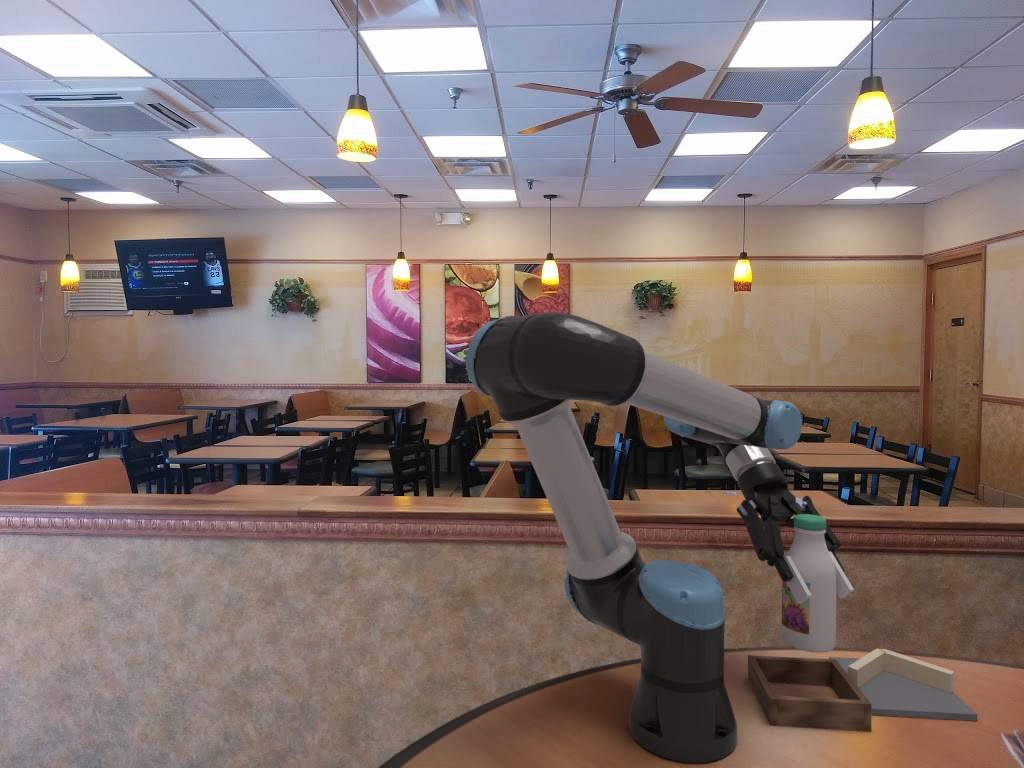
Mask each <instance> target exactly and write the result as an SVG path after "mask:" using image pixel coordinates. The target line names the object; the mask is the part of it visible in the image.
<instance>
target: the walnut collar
mask: <svg viewBox="0 0 1024 768" xmlns="http://www.w3.org/2000/svg"><path fill="white" fill-rule="evenodd" d="M747 681H748V683H749V684H750V686H751V688H752V691H753V693H754V695H755V697H756V699H757V702H758V703H759V706H760V708H761V709H762V712H763V714H764V716H765V718H766V720H767V722H768V724H769V726H776V727H787V728H788V727H792V728H793V727H794V728H808V729H823V730H824V729H826V730H839V731H840V730H842V731H858V732H859V731H861V732H872V715H871V705H872V704H871V703H870V702H869V700H868V699H867V698H866V697H865V695H864V694H863V693H862V692H861V690H860V689H859V688H858V687H857V685H856V684H855V683H854V682H853V680H852V679H851V678H850V677H849V675H848V674H847V673H846V672H845V670H844V669H843V668H842V667H841V665H840V664H839V663H838V662H837V660H836V659H829V658H814V657H813V658H812V657H796V656H795V657H794V656H793V657H790V656H769V655H766V656H765V655H747ZM771 683H772V684H787V685H790V684H791V685H805V686H806V685H807V686H808V685H812V686H826V687H827V686H828V687H832V689H833V690H834V692H835V693H836V694H837V696H838V697H839V698H828V697H827V698H825V697H810V696H809V697H808V696H794V695H793V696H787V695H775V693H774V691H773V689H772V687H771V685H770V684H771Z"/></svg>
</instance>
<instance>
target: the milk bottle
mask: <svg viewBox="0 0 1024 768" xmlns="http://www.w3.org/2000/svg"><path fill="white" fill-rule="evenodd" d="M793 517H794V529H793V530H794V532H795V533H794V538H793V541H792V543H791V546H790V548H789V549H788V551H787V553H786V555H785V557H786V556H791V558H792V560H793V562H794V564H795V566H796V567H797V569H798V571H799V573H800V575H801V577H802V578H803V580H804V582H805V584H806V586H807V588H808V589H809V591H810V593H811V596H810V597H809V598H808V599H807V600H805V601H804V602H803V603H801V604H798V603H797V601H796V599H795V597H794V595H793V594H792V592H791V590H790V588H789V586H788V584H787V582H784V581H783V580H782V579H781V581H782V582H781V583H782V584H781V586H782V587H781V638H782V640H783V642H784V643H785V644H787V645H788V646H790V647H792V648H793V649H797V650H799V651H804V652H809V653H819V654H820V653H821V654H822V653H828V652H830V651H831V652H832V650H834V649H835V647H836V640H837V637H836V636H837V635H836V634H837V633H836V632H837V592H836V571H835V566H834V562H833V560H832V557H831V555H830V553H829V551H828V549H827V546H826V542H825V538H824V533H826V524H827V519H826V518H825V517H824V516H821V515H820V516H817V515H811V514H799V515H795V514H794V515H793Z"/></svg>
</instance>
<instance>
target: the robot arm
mask: <svg viewBox="0 0 1024 768" xmlns="http://www.w3.org/2000/svg"><path fill="white" fill-rule="evenodd" d="M465 364H466V365H465V366H466V372H467V375H468V378H469V380H470V382H471V384H472V385H473V386H474V387H475V388H476V389H477V390H478V391H479V392H481V393H482V394H484V395H485V396H488V397H491V398H492V401H493V404H494V405H495V407H496V410H497V411H498V414H499V416H500V419H501V420H502V422H504V423H507V424H510V425H512V426H515V427H516V429H517V432H518V434H519V437H520V438H521V441H522V443H523V446H524V448H525V451H526V453H527V455H528V457H529V460H530V463H531V464H532V466H533V469H534V471H535V474H536V476H537V478H538V480H539V483H540V485H541V488H542V490H543V492H544V494H545V496H546V499H547V501H548V503H549V506H550V508H551V511H552V513H553V515H554V517H555V520H556V522H557V524H558V527H559V529H560V532H561V534H562V536H563V538H564V541H565V543H566V545H567V547H568V550H569V554H568V556H567V558H566V562H565V565H566V569H565V575H566V578H564V591H565V595H566V598H567V600H568V602H569V604H570V606H571V607H572V608H573V610H575V611H576V613H578V614H579V615H581V616H582V617H583V618H584V619H586V620H587V621H588V622H590V623H593V624H595V625H596V626H600V627H602V628H603V629H604V628H605V629H606V630H607V631H610V632H612V633H614V634H616V635H618V636H620V637H622V638H624V639H626V640H628V641H630V642H632V643H634V644H636V645H638V646H640V676H639V679H638V682H637V685H636V688H635V691H634V694H633V697H632V700H631V702H630V706H629V709H628V710H629V711H628V725H629V726H628V728H629V732H630V735H631V736H632V738H633V739H634V740H635V742H637V743H638V744H639V745H640V746H641V747H642V748H644V749H646V750H647V751H648V750H649V752H650V751H651V752H650V753H652V752H653V754H654V753H655V754H654V755H657V756H659V757H662V758H664V759H668V760H671V761H675V762H676V761H677V762H681V763H682V762H683V763H696V764H697V763H699V764H700V763H701V764H702V763H708V762H715V761H717V760H720V759H723V758H724V757H727V756H728V755H730V754H731V753H732V752H733V751H734V750H735V748H736V746H737V743H738V725H737V719H736V715H735V713H734V711H733V710H734V709H733V706H732V704H731V700H730V698H729V695H728V692H727V689H726V686H725V685H726V684H725V620H726V607H725V601H724V591H723V587H722V585H721V582H720V581H719V580H718V579H717V577H715V575H714V574H712V573H711V572H710V571H708V570H707V569H704V568H702V567H700V566H697V565H695V564H692V563H689V562H684V561H683V562H679V561H677V560H673V559H672V560H671V559H659V560H654V561H649V562H648V563H645V561H643V559H642V556H641V554H640V552H639V549H638V547H637V544H636V540H634V538H633V537H632V535H630V534H628V533H627V532H622V531H621V530H620V527H619V524H618V522H617V520H616V516H615V515H614V512H613V509H612V507H611V504H610V502H609V500H608V498H607V495H606V492H605V491H604V488H603V485H602V482H601V480H600V477H599V475H598V473H597V470H596V468H595V465H594V463H593V461H592V458H591V456H590V452H589V450H588V448H587V445H586V443H585V440H584V437H583V436H582V433H581V431H580V427H579V425H578V423H577V421H576V418H575V415H574V413H573V411H572V408H571V406H570V402H571V401H587V402H595V403H600V404H602V405H606V406H609V407H614V408H615V407H620V406H622V405H624V404H626V405H630V406H632V407H635V408H638V409H641V410H643V411H644V410H645V411H647V412H651V413H653V414H656V415H659V416H663V422H664V425H665V427H666V428H667V429H668V430H669V431H670V432H672V433H674V434H676V435H679V437H682V438H688V439H691V440H694V441H697V442H702V443H706V444H707V445H710V446H714V447H716V448H717V449H718V450H719V452H720V455H722V457H723V460H724V461H725V463H726V465H727V467H728V468H729V471H730V472H731V474H732V477H733V478H734V480H735V481H736V482H737V486H738V488H739V489H740V491H741V494H742V495H743V497H744V499H743V500H742V501H741V503H740V504H739V505H738V506H737V507H736V512H737V513H738V515H739V516H740V518H741V519H742V521H743V522H744V525H745V527H746V529H747V530H746V531H747V532H748V536H749V539H750V541H751V544H752V546H753V549H754V552H755V553H756V556H757V558H758V560H759V561H761V562H765V561H766V563H767V565H768V566H769V567H774V568H775V570H776V571H777V573H778V575H779V577H780V578H781V579H780V580H781V581H782V580H783V581H784V582H787V584H788V586H789V588H790V590H791V592H792V594H793V595H794V597H795V599H796V601H797V603H798V604H801V603H803V602H804V601H805V600H807V599H808V598H809V597H810V596H811V593H810V591H809V589H808V588H807V586H806V584H805V582H804V580H803V578H802V577H801V575H800V573H799V571H798V569H797V567H796V566H795V564H794V562H793V560H792V558H791V556H786V555H785V552H784V546H783V538H782V533H781V529H780V524H779V522H782V523H784V524H785V525H786V526H788V528H792V529H793V530H794V516H795V515H799V514H811V515H817V516H821V514H820V513H819V512H818V510H817V509H816V507H815V506H814V502H813V501H812V498H811V497H810V496H809V495H804V496H803V497H796V496H795V495H794V494H793V493H792V492H791V491H790V490H789V488H788V480H787V478H786V477H785V475H784V473H783V471H782V470H781V468H780V466H779V465H778V464H776V463H777V462H776V460H775V457H773V454H772V453H771V451H770V450H788V449H791V448H793V447H795V446H796V444H797V443H798V441H799V440H800V436H801V435H802V434H801V433H802V432H801V431H802V427H803V420H802V415H801V412H800V410H799V409H798V407H797V406H796V405H795V404H793V403H792V402H790V401H789V402H788V401H781V400H779V399H774V400H768V399H764V398H760V397H758V396H755V395H753V394H750V393H747V392H744V391H743V390H740V389H737V388H735V387H733V386H729V385H728V384H725V383H722V382H721V381H718V380H715V379H713V378H710V377H708V376H706V375H704V374H701V373H698V372H695V371H694V370H691V369H688V368H686V367H683V366H682V365H680V364H676V363H674V362H672V361H669V360H667V359H664V358H662V357H660V356H657V355H655V354H653V353H650V352H647V351H646V350H645V348H644V346H643V344H642V343H641V341H639V340H638V339H636V338H634V337H631V336H629V335H627V334H625V333H622V332H620V331H617V330H615V329H612V328H611V327H610V328H609V327H607V326H604V325H603V324H601V323H597V322H595V321H592V320H589V319H586V318H584V317H581V316H578V315H574V314H571V313H567V312H559V311H549V312H548V311H547V312H542V313H535V314H527V315H507V316H506V315H505V316H504V317H501V318H498V319H495V320H491V321H489V322H487V323H485V324H484V325H482V326H481V327H480V328H478V330H476V332H475V333H474V334H473V335H472V337H471V340H470V342H469V345H468V348H467V351H466V358H465ZM759 515H760V517H759ZM824 538H825V542H826V546H827V549H828V551H829V553H830V555H831V557H832V560H833V562H834V566H835V571H836V595H837V596H838V597H839V599H845V598H846V597H847V596H848V595H849V594H851V593H852V592H853V591H855V588H854V587H853V585H852V584H851V582H850V580H849V579H848V577H847V575H846V573H845V568H844V566H843V564H842V563H841V562H840V559H839V558H838V556H837V555H836V554H837V553H836V551H838V550H839V549H840V548H841V547H842V542H841V541H840V540H839V539H838V537H837V536H836V534H835V533H834V532H833V530H832V529H831V528H830V526H829V525H828V524H827V523H826V533H824ZM784 556H785V557H784Z"/></svg>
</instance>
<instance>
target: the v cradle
mask: <svg viewBox="0 0 1024 768" xmlns="http://www.w3.org/2000/svg"><path fill="white" fill-rule="evenodd" d="M828 659H836V660H837V662H838V663H839V664H840V665H841V667H842V668H843V669H844V670H845V672H846V673H847V674H848V675H849V677H850V678H851V679H852V680H853V682H854V683H855V684H856V685H857V687H858V688H859V689H860V690H861V692H862V693H863V694H864V695H865V697H866V698H867V699H868V700H869V702H870V703H871V704H872V705H871V716H879V715H889V716H888V717H896V716H898V717H899V718H913V719H916V718H918V719H921V718H922V719H935V720H954V721H972V722H973V721H974V722H977V721H978V713H976V712H975V710H973V709H972V708H971V707H970V706H969V705H968V704H967V703H966V702H965V701H964V700H962V698H960V697H959V696H958V695H957V694H956V693H955V692H954V691H955V671H954V670H951V669H947V668H945V667H941V666H939V665H936V664H932V663H930V662H926V661H923V660H920V659H917V658H914V657H911V656H908V655H906V654H905V655H904V654H902V653H898V652H895V651H892V650H889V649H886V648H882V649H881V648H878V647H877V648H876V649H873V650H872V651H870V652H868V653H867V654H865V655H863V656H862V657H859V658H858V657H839V656H837V657H835V656H828ZM890 715H891V716H890Z"/></svg>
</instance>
